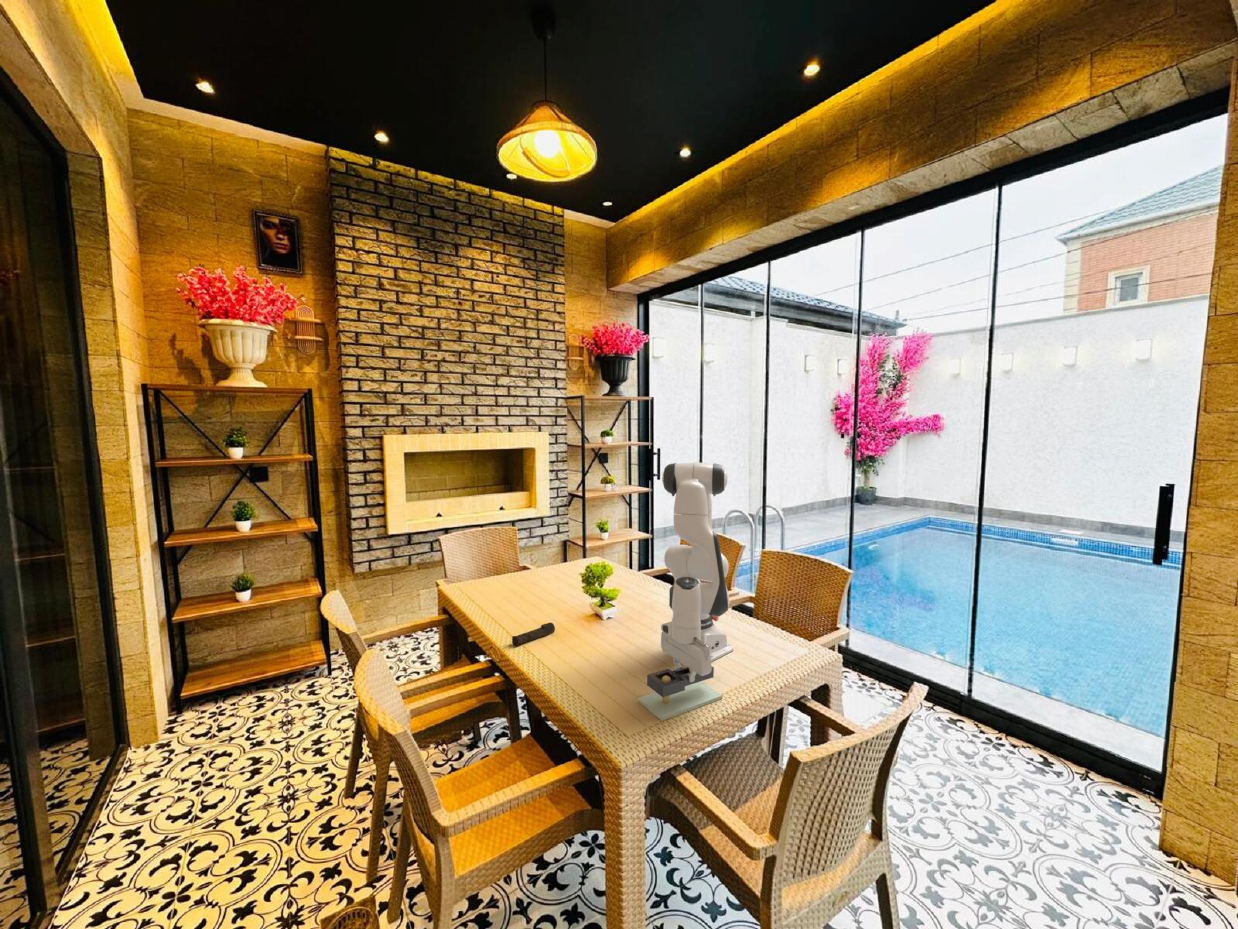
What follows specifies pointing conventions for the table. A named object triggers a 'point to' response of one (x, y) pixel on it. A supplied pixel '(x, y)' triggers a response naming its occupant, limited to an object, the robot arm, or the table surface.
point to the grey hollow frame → (673, 680)
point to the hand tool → (534, 634)
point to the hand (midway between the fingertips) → (684, 676)
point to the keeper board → (679, 700)
